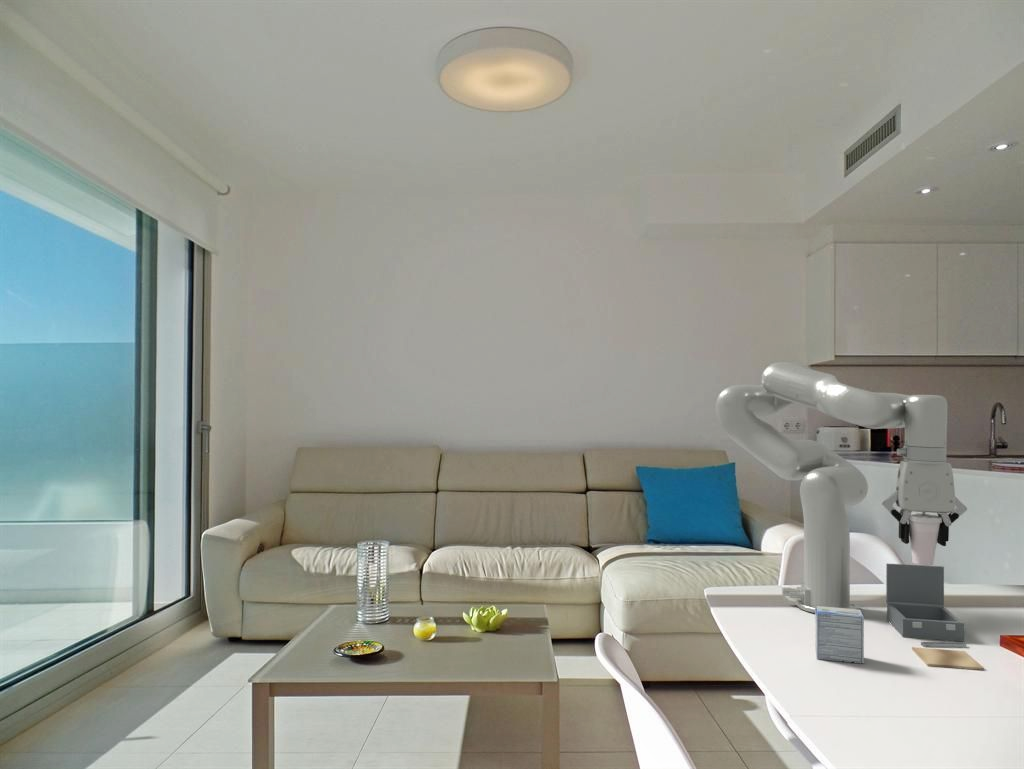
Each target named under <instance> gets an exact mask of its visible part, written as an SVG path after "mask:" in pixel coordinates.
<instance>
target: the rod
mask: <svg viewBox="0 0 1024 769" xmlns="http://www.w3.org/2000/svg"><path fill="white" fill-rule="evenodd" d="M920 646H922V648H958V649H959V648H960V649H961V648H964V649H966V648H967V643H965V642H960V641H955V642H954V641H953V642H951V641H950V642H949V641H921V642H920Z"/></svg>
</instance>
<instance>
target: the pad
mask: <svg viewBox="0 0 1024 769" xmlns="http://www.w3.org/2000/svg"><path fill="white" fill-rule="evenodd" d="M911 650H912V651H913V652H914V653H915V655H917V656H918V657H919V659H920V660H921V661H922V662H923V661H924V662H923V663H924V664H925V665H926V666H927V667H938V668H949V669H951V668H952V669H961V668H964V670H965V669H966V670H974V669H979V670H978V671H985V668H984V666H983V665H981V664H980V663H979V662H978V661H977V660H976V659H975V658H973V657H972V656H971V655H970V654H969V653H968V652H967V651H965V650H953V649H940V648H931V647H915V646H912V647H911ZM950 667H951V668H950Z"/></svg>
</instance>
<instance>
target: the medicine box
mask: <svg viewBox="0 0 1024 769" xmlns="http://www.w3.org/2000/svg"><path fill="white" fill-rule="evenodd" d="M814 614H815V615H814V616H815V617H814V618H815V620H814V624H815V626H814V627H815V628H814V630H815V634H814V635H815V640H814V641H815V643H814V644H815V655H816V656H815V658H816V659H817V660H823V661H824V660H825V661H835V662H842V661H844V663H851V662H854V663H853V664H861V663H863V664H865V655H864V654H865V651H864V649H865V648H864V647H865V644H864V643H865V641H864V639H865V638H864V637H865V633H864V632H865V628H864V627H865V626H864V625H865V624H864V623H865V618H864V615H863V613H862V610H860V609H858V608H857V609H847V608H835V607H823V606H816V607H815V613H814ZM863 664H862V665H863Z"/></svg>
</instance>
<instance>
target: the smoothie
mask: <svg viewBox="0 0 1024 769" xmlns="http://www.w3.org/2000/svg"><path fill="white" fill-rule="evenodd" d="M907 521H908V524H909V526H910V528H909V544H910V549H911V550H910V551H911V552H910V553H911V559H912V560H911V561H912V563H914V565H924V566H934V561H935V557H936V556H935V555H936V548H937V544H938V543H937V538H938V532H939V526H940V523H942V517H940V516H938V515H937V514H932V513H931V514H929V513H926V512H911V514H910V516H909V518H908V520H907Z"/></svg>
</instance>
